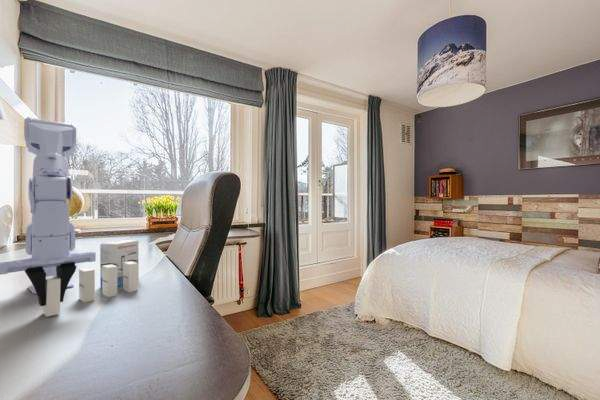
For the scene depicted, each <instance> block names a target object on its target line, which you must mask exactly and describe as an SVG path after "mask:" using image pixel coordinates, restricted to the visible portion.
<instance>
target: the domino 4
mask: <svg viewBox="0 0 600 400" xmlns="http://www.w3.org/2000/svg"><path fill="white" fill-rule="evenodd" d="M138 281H139V262H138V263H136V262H133V261H129V262H123V285H122V289H123V291H126V292H127V293H132V292H135V291H138V290H139V287H138V286H139V285H138V283H139V282H138Z"/></svg>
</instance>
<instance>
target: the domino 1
mask: <svg viewBox="0 0 600 400" xmlns="http://www.w3.org/2000/svg"><path fill="white" fill-rule="evenodd" d="M60 283H61V279H60V278H59V277H58V276H49V277H46V281H45V294H46V305H45V306H42V311H41V312H42V314H43V315H44V316H45V317H46V318H47V317H51V316H57V315H60V314H61V302H60Z"/></svg>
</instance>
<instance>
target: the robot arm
mask: <svg viewBox="0 0 600 400" xmlns="http://www.w3.org/2000/svg"><path fill="white" fill-rule="evenodd" d="M23 130H24V131H23V133H24V137H23V138H24V141H25V146H26V147H25V148H26V149H27V151H28V152H29V153H32V155H33V154H34V155H36V156H35V157H34V159H33V163H32V164H33V165H32V177H30V178H29V179H28V187H27V188H28V189H27V191H28V194H27V195H28V201H29V205H30V213H31V215H32V216H31V222H30V223H29V224H28V225H27V226H26V229H25V231H26V233H25V240H24V241H25V247H24V248H25V253H26V254H27V255H29V256H31V258H30V257H29V258H24V259H17V260H11V261H3V262H2V261H1V262H0V276H1V275H8V274H10V273H16V272H24V273H25V275H26V276H27V278H28V279H29V280H30V283H31V284H29V285H27V288H28V289H29V290H30V291H31V293H32V294H36V295H37V299H38V300H37V301H38V305H39V306H40V307H43V306H45V305H46V294H45V281H46V277H49V276H58V277H59V278H60V279H61V283H60V303H63V302H64V298H65V294H66V290H67V288H72V287H75V285H74V284H73V283H72V281H71V279H72V278H73V275H74V274H75V272H76V270H77V265H76V264H82V263H93V262H94V263H95V262H96V260H97V259H96V256H97V255H96V252H94V251H89V252H88V251H87V252H77V253H76V252H75V253H71V252H73V251H74V250H75V248H76V230H75V225H74V222H72V221H71V220H70V205H71V204H72V201H73V182H72V177H71V174H69V162H68V160H67V159H66V158H68V157H70V156H73V155H74V152H75V151H76V146H77V126H76V125H75V124H74V122H72V123H68V122H60V121H54V120H53V121H52V120H46V119H39V118H31V117H30V116H29V117H28V116H27V117H25V118H24V123H23ZM67 200H68V202H69V204H70V205H69V204H68V203H67ZM70 281H71V282H70Z"/></svg>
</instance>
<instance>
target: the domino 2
mask: <svg viewBox="0 0 600 400" xmlns="http://www.w3.org/2000/svg"><path fill="white" fill-rule="evenodd" d="M95 274H96V273H95V269H93V268H91V267H84V268H78V300H79V301H81V302H82V303H88V302H93V301H95V299H96V296H95V295H96V294H95V293H96V291H95V284H96V283H95V279H96V278H95V277H96V275H95Z"/></svg>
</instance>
